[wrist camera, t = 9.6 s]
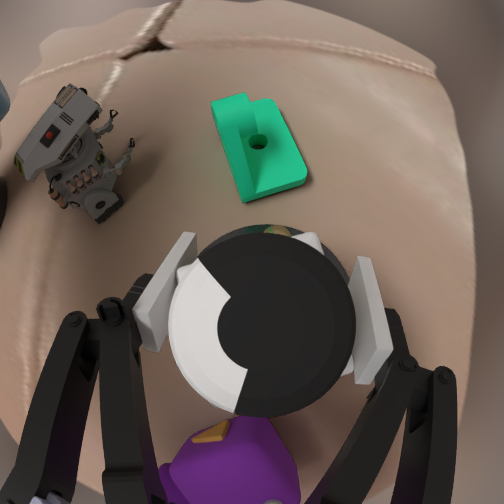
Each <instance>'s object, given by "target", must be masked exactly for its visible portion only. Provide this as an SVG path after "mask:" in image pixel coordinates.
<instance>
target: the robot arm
mask: <svg viewBox="0 0 504 504" xmlns="http://www.w3.org/2000/svg"><path fill="white" fill-rule="evenodd" d="M9 108H10V98H9V96H8V93H7V91H6V89H5V87H4V86H3V84H2V82H1V80H0V122H1V120H2V119H3V118H4V117H5V115H6V114H7V113H8V111H9ZM6 199H7V188H6V183H5V181H4V179H3V178H2V177H0V225H1V222H2V219H3V216H4V212H5V207H6ZM196 259H197V240H196V233H192V232H183V233H182V235H181V236H180V238H179V239H178V241H177V242H176V243H175V245H174V246H173V248H172V249H171V251H170V252H169V254H168V255H167V257H166V258H165V260H164V261H163V263H162V264H161V266H160V267H159V269H158V270H157V272H156V273H155V275H152V274H146V273H145V274H144V275H142V276H141V277H139V278H138V279H137V280H136V282H135V283H134V285H133V287H131V289H130V290H129V292H128V293H127V295H126V296H125V298H124V299H123V301H122V300H121V299H120V298H117V297H109V298H105V299H104V300H102V301H101V302H100V303H99V304H98V305H97V308H96V310H97V313H98V315H99V318H100V319H87V317H86V314H84V313H83V312H81V311H74V312H71V313H69V314H68V315H66V317H65V318H64V319H63V321H62V324H61V326H60V328H59V330H58V333H57V335H56V337H55V340H54V342H53V344H52V347H51V349H50V352H49V354H48V357H47V359H46V362H45V364H44V367H43V370H42V372H41V375H40V378H39V381H38V383H37V386H36V389H35V392H34V395H33V398H32V401H31V405H30V408H29V411H28V415H27V418H26V422H25V425H24V429H23V433H22V437H21V441H20V445H19V449H18V454H17V458H16V463H15V466H14V468H13V470H12V471H11V473H10V475H9V477H8V478H7V480H6V482H5V484H4V485H3V487H2V489H1V491H0V504H70V503H71V501H72V497H73V494H74V491H75V485H76V479H77V472H78V465H79V458H80V452H81V446H82V441H83V435H84V430H85V425H86V420H87V416H88V411H89V407H90V402H91V398H92V394H93V390H94V386H95V382H96V378H97V374H98V371H99V381H100V413H101V428H102V440H103V450H104V458H105V470H104V471H103V473H102V485H103V491H104V496H105V502H106V504H176V503H172V502H168V498H167V495H166V492H165V489H164V487H163V485H162V482H161V480H160V476H159V471H158V467H157V463H156V458H155V453H154V448H153V443H152V438H151V432H150V426H149V420H148V414H147V408H146V401H145V393H144V385H143V377H142V368H141V357H140V352H139V347H140V345H141V343H142V344H143V347H144V349H145V350H149V351H152V352H156V353H159V351H160V349H161V347H162V345H163V343H164V340H165V338H166V336H167V334H168V332H169V331H168V320H169V311H170V306H171V301H172V298H173V295H174V292H175V290H176V287H177V286H178V283H177V278H176V271H177V269H179V268H180V267H183V266H186V265H190V264H192V263H193V262H194V261H195V260H196ZM348 288H349V290H350V293H351V296H352V299H353V303H354V308H355V314H356V335H355V343H354V347H353V350H352V351H353V361H354V375H355V384H371V382H372V381H373V379H374V378H375V387H374V388H373V390H372V391H371V392H370V394H369V395H368V396H367V398H368V400H367V402H366V404H365V406H364V408H363V410H362V412H361V414H360V416H359V418H358V419H357V421H356V423H355V425H354V427H353V429H352V430H351V432H350V434H349V436H348V438H347V439H346V441H345V443H344V445H343V446H342V448H341V450H340V451H339V453H338V455H337V456H336V458H335V459H334V461H333V463H332V464H331V466H330V467H329V469H328V470H327V472H326V473H325V475H324V476H323V478H322V479H321V481H320V482H319V484H318V485H317V487H316V488H315V490H314V491H313V492H312V494H311V495H310V497H309V498H308V499H307V501H306V502H305V503H304V504H362V502H363V500H364V499H365V497H366V495H367V493H368V492H369V490H370V488H371V486H372V484H373V482H374V481H375V479H376V477H377V475H378V473H379V471H380V469H381V467H382V465H383V463H384V461H385V458H386V456H387V454H388V452H389V450H390V448H391V445H392V443H393V441H394V438H395V436H396V434H397V431H398V429H399V426H400V424H401V421H402V419H403V416H404V413H405V411H406V408H407V413H406V422H405V430H404V437H403V444H402V451H401V457H400V462H399V468H398V473H397V478H396V482H395V487H394V491H393V495H392V499H391V503H390V504H450V503H451V497H452V490H453V482H454V474H455V464H456V450H457V387H456V377H455V374H454V373H453V371H452V370H451V369H449V368H448V367H445V366H439V367H437V368H436V369H435V370H434V371H431V370H428V369H425V368H422V367H420V366H419V365H418V362H417V361H416V359H415V358H414V357H412V356H411V355H410V354H409V350H408V346H407V342H406V338H405V334H404V332H403V331H404V330H403V327H402V323H401V319H400V316H399V315H398V314H397V312H396V311H395V310H394V309H389V308H384V306H383V302H382V298H381V295H380V291H379V287H378V284H377V280H376V277H375V273H374V270H373V266H372V263H371V260H370V258H369V257H362V256H357V259H356V262H355V266H354V269H353V272H352V275H351V278H350V281H349V284H348Z"/></svg>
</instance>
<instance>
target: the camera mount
mask: <svg viewBox="0 0 504 504" xmlns="http://www.w3.org/2000/svg"><path fill="white" fill-rule="evenodd" d="M211 109H212V115H213V118H214V121H215V124H216V127H217V130H218V133H219V136H220V139H221V142H222V145H223V148H224V151H225V154H226V157H227V160H228V163H229V166H230V169H231V172H232V174H233V177H234V180H235V183H236V185H237V188H238V191H239V194H240V197H241V200H242V203H245V202H248V201H251V200H254V199H258V198H261V197H264V196H267V195H270V194H273V193H277V192H280V191H283V190H286V189H290V188H293V187H296V186H300V185H302V184H303V183H304V182H305V180H306V176H307V168H306V166H305V164H304V161H303V159H302V157H301V155H300V153H299V150H298V148H297V146H296V144H295V142H294V140H293V138H292V136H291V134H290V132H289V129H288V127H287V125H286V123H285V121H284V119H283V117H282V115H281V113H280V111H279V109H278V107H277V106H276V104H275V102H274V101H273V100H271V99H261V100H257V101H254V102H250V101H249V99H248V97H247V95H246V93H245V92H244V93H240V94H236V95H233V96H229V97H226V98H222V99H219V100H216V101H213V102H211ZM255 145H263V146H265V148H263V149H259V150H257V149H253V148H252V147H253V146H255Z"/></svg>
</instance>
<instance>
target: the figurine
mask: <svg viewBox="0 0 504 504" xmlns="http://www.w3.org/2000/svg"><path fill="white" fill-rule="evenodd" d="M102 111H103V110H102V109H101V107H100V105H99V104H98V103H97V102H96V101H93V100H92V99H91V98H90V97H89V96H87V90H86V89H84V88H77V87H75V86H74V85H72V84H70V83H69V84H68V86H67V87H65V86H64V87H62V89H61V90H60V92H59V93H58V95H57V97H56V99H55V101H54V102H53V103H52V104H51V106H50V107H49V108H48V109H47V111H46V112H45V113H44V114H43V116H42V117H41V118H40V120H39V121H38V122H37V124H36V125H35V126H34V128H33V129H32V131H31V132H30V133H29V135H28V136H27V138H26V139H25V141H24V142H23V144H22V145H21V147H20V148H19V150H18V151H17V153H16V154H15V159H14V164H15V165H16V167H17V168H18V169H19V171H20V172H21V174H22V175H23V176H24V178H25V179H26V180H27V181H30V182H34V181H35V179H36V177H37V176H38V174H39V173H40V171H42V170H45V173H46V176H47V179H48V182H49V183H50V190H49V192H48V194H49V195H50V196H51V198H52V199H53V200H55V201H56V202H57V203H58V204H59V205H60V207H61V208H62V209H66V208H67V207H68V205H70V206H71V207H72V208H77V209H85V210H87V212H88V213H89V215H90V216H92V217H93V218H94V219H95V221H96V222H97V223H98V224H100V223H101V222H102V221H104V220H105V218H106V217H109V216H110V214H111V213H112V212H113V211H115V210H117V209H118V207H119V206H122V205H123V203H124V200H123V198H122V197H121V195H119V194H117V193H116V194H115V193H113V192H111V191H112V189H113V186H114V184H115V181H116V178H117V175H121V174H122V172H123V171H122V169H123V168H124V167H125V165H126V164H129V162H130V160H131V155H130V153H131V151H132V149H131V148H132V147H135V144H134V140H133V145H132V139H133V138H130V145H129V148H128V150H127V152H126V153H123V155H122V157H121V161H120V162H119V163H116V164H115V165H114V168H113V167H112V165H111V163H110V161H109V160H108V158H107V157H106V156H105V154H104V152H103V150H102V149H103V147H102V145H101V144H100V143H99V142H98V141H97V139H100V138H101V135H103V134H105V133H106V132H110V131H111V130H112V129H113V127H114V126H113V124H112V121H113V118H114V117H115V116H116V115H117V114H118V112H117V111H116V110H115V111H116V114H115V115H113V116H112V111H114V110H110V119H109V121H108V123H106V124H105V125H104V126H103V127H101V128H100V129H95V132H92V130H91V128H90V125H91V123H92V122H93V121H94V120H96V118H98V119H99V114H100V113H101V112H102ZM51 186H52V188H51Z"/></svg>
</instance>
